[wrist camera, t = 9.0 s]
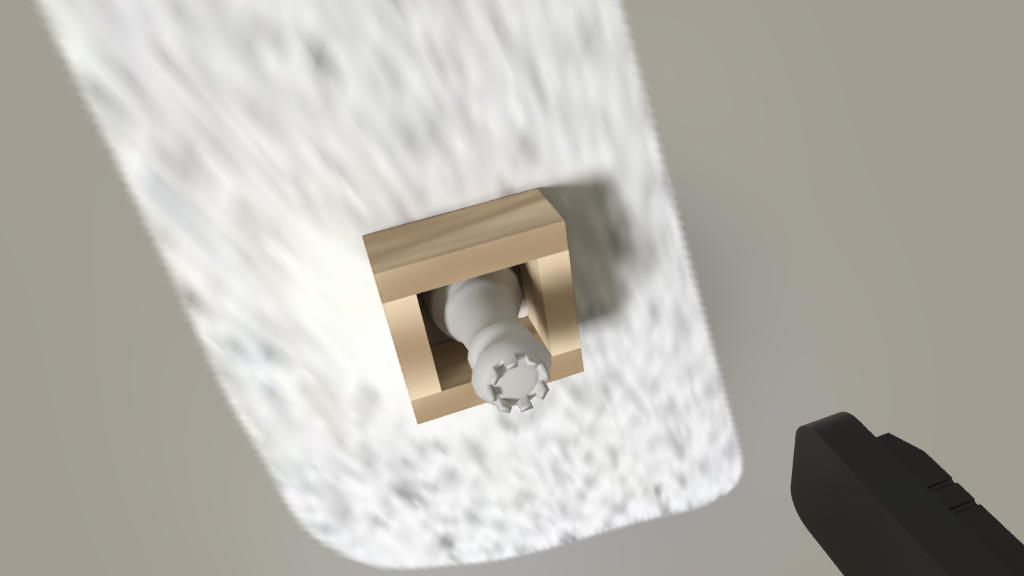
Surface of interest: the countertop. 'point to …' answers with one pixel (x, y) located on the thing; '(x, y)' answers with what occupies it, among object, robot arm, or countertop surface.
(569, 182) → the countertop surface
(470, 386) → the socket block
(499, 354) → the rook chess piece
